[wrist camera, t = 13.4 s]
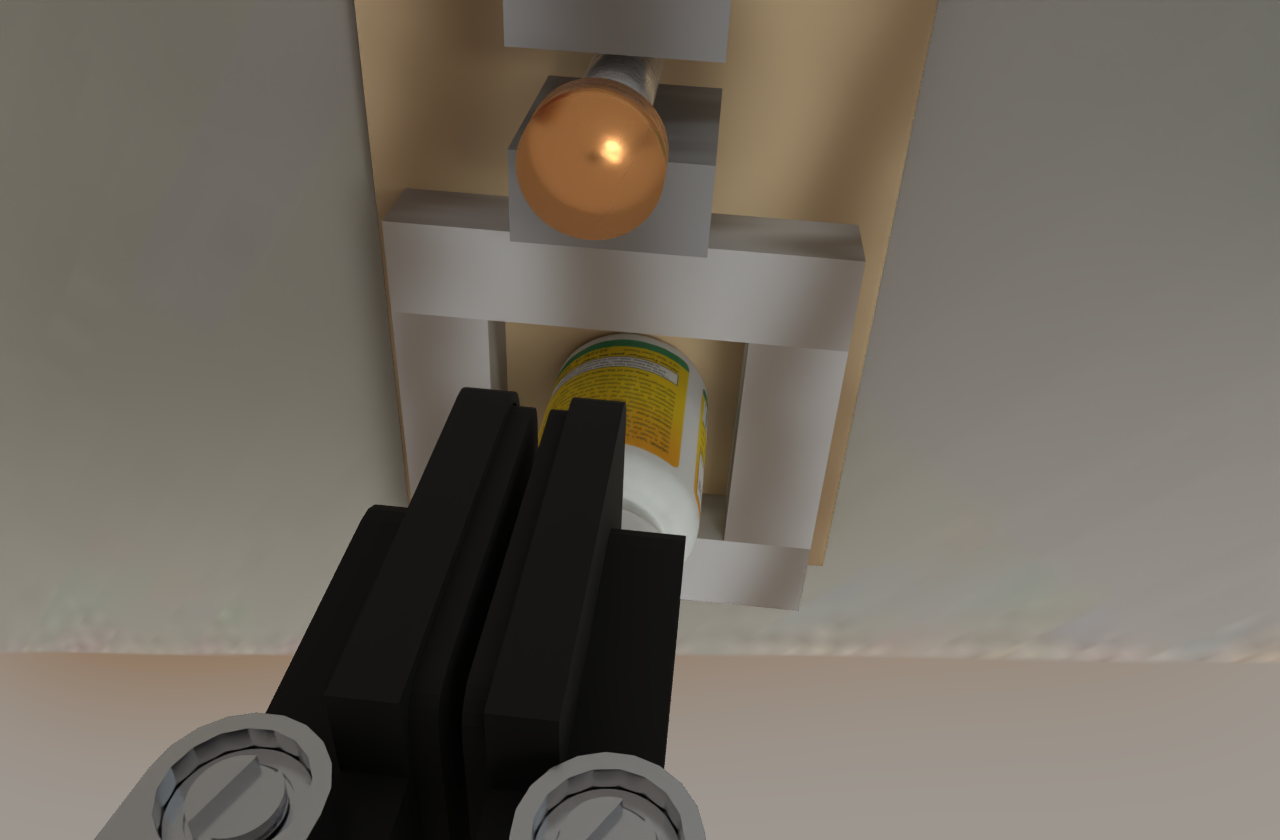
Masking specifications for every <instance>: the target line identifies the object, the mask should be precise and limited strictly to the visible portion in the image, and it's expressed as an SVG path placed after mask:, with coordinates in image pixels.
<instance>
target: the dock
mask: <svg viewBox="0 0 1280 840" xmlns="http://www.w3.org/2000/svg"><path fill="white" fill-rule="evenodd" d="M937 3H938V0H354V4H355V13H356V22H357V31H358V40H359V50H360V59H361V68H362V77H363V87H364V96H365V105H366V114H367V123H368V133H369V142H370V151H371V160H372V170H373V179H374V188H375V197H376V206H377V216H378V225H379V234H380V243H381V253H382V262H383V271H384V280H385V290H386V299H387V308H388V317H389V326H390V336H391V345H392V354H393V363H394V373H395V382H396V391H397V400H398V409H399V419H400V428H401V437H402V446H403V456H404V465H405V474H406V483H407V492H408V502H409V504H410V502H411V499H412V497H413V495H414V493H415V490H416V488H417V486H418V484H419V481H420V479H421V477H422V475H423V472H424V470H425V468H426V466H427V463H428V461H429V459H430V457H431V454H432V452H433V450H434V448H435V445H436V443H437V441H438V439H439V436H440V434H441V432H442V430H443V427H444V425H445V423H446V421H447V418H448V416H449V414H450V412H451V409H452V407H453V405H454V403H455V400H456V398H457V396H458V394H459V392H460V390H461V389H462V388H463V387H472V388H483V389H494V390H504V391H515V392H517V394H518V397H519V402H520V406H525V407H535V408H536V410H537V418H538V434H539V431H540V428H541V425H542V422H543V419H544V415H545V412H546V409H547V406H548V403H549V400H550V397H551V394H552V391H553V387H554V384H555V382H556V379H557V376H558V374H559V372H560V370H561V368H562V366H563V365H564V363H565V362H566V360H567V359H568V358H569V357H570V355H571V354H572V353H573V352H574V351H576V350H577V349H578V348H579V347H581V346H583V345H585V344H586V343H588V342H590V341H592V340H595V339H597V338H600V337H603V336H607V335H613V334H621V333H626V334H637V335H643V336H647V337H650V338H654V339H656V340H659V341H662V342H664V343H666V344H668V345H670V346H672V347H674V348H676V349H678V350H679V351H680V352H682V353H683V354H684V355H685V356H686V357H687V358H688V359H689V360H690V361H691V362H692V363H693V364H694V365H695V367H696V368H697V370H698V371H699V373H700V375H701V377H702V379H703V381H704V384H705V387H706V390H707V395H708V426H707V440H706V450H705V462H704V477H703V488H702V500H701V512H700V522H699V530H698V535H697V539H696V542H695V545H694V547H693V550H692V551H691V553H690V555H689V557H688V558H687V560H686V561H685V562H684V565H683V576H682V587H681V597H680V599H686V600H696V601H706V602H716V603H726V604H736V605H746V606H756V607H766V608H776V609H786V610H796V611H799V607H800V601H801V596H802V591H803V586H804V581H805V575H806V570H807V565H816V566H823V562H824V557H825V552H826V547H827V542H828V538H829V533H830V528H831V523H832V518H833V513H834V508H835V503H836V498H837V493H838V489H839V484H840V479H841V474H842V469H843V464H844V459H845V454H846V449H847V444H848V440H849V435H850V430H851V425H852V420H853V415H854V410H855V405H856V400H857V395H858V391H859V386H860V381H861V376H862V371H863V366H864V361H865V356H866V351H867V346H868V342H869V337H870V332H871V327H872V322H873V317H874V312H875V307H876V302H877V297H878V293H879V288H880V283H881V278H882V273H883V268H884V263H885V258H886V253H887V248H888V244H889V239H890V234H891V229H892V224H893V219H894V214H895V209H896V204H897V199H898V195H899V190H900V185H901V180H902V175H903V170H904V165H905V160H906V155H907V150H908V146H909V141H910V136H911V131H912V126H913V121H914V116H915V111H916V106H917V101H918V97H919V92H920V87H921V82H922V77H923V72H924V67H925V62H926V57H927V52H928V48H929V43H930V38H931V33H932V28H933V23H934V18H935V13H936V8H937ZM594 53H599V54H613V55H626V56H640V57H653V58H665V62H664V66H663V69H662V73H661V77H660V81H659V85H658V89H657V93H656V97H655V101H654V105H653V107H654V108H655V110H656V111H657V113H658V114H659V116H660V118H661V120H662V122H663V124H664V127H665V130H666V133H667V137H668V144H669V158H668V165H667V171H666V176H665V181H664V186H663V190H662V194H661V197H660V199H659V201H658V203H657V205H656V207H655V208H654V210H653V212H652V213H651V214H650V215H649V217H648V218H647V219H646V220H645V221H644V222H643V223H642V224H640V225H639V226H638V227H636V228H635V229H633V230H632V231H630V232H628V233H626V234H624V235H621V236H618V237H615V238H611V239H606V240H585V239H578V238H575V237H571V236H568V235H566V234H563V233H561V232H559V231H557V230H555V229H553V228H552V227H550V226H549V225H548V224H546V223H545V222H544V221H543V220H542V219H540V218H539V217H538V216H537V215H536V213H535V212H534V211H533V210H532V209H531V207H530V206H529V204H528V203H527V202H526V200H525V198H524V196H523V194H522V192H521V189H520V186H519V183H518V179H517V174H516V154H517V148H518V145H519V142H520V139H521V136H522V134H523V132H524V130H525V128H526V126H527V125H528V123H529V121H530V119H531V117H532V115H533V114H534V112H535V110H536V108H537V107H538V106H539V104H540V103H541V101H542V100H543V99H544V98H545V97H546V96H547V95H548V94H549V93H551V92H552V91H553V90H554V89H556V88H558V87H559V86H561V85H563V84H565V83H568V82H570V81H573V80H577V79H582V78H583V76H584V74H585V72H586V70H587V68H588V65H589V63H590V61H591V59H592V57H593V55H594Z"/></svg>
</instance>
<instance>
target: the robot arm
mask: <svg viewBox="0 0 1280 840" xmlns="http://www.w3.org/2000/svg"><path fill="white" fill-rule="evenodd" d="M625 434H626V402H622V401H611V400H601V399H590V398H579V397H573V398H572V400H571V403H570V406H569V409H568V410H557V409H551V410H550V412H549V415H548V418H547V421H546V425H545V428H544V431H543V434H542V438H541V441H540V444H539V447H538V418H537V410H536V408H535V407H525V406H520V402H519V397H518V394H517V392H515V391H504V390H494V389H483V388H472V387H463V388H462V389H461V390H460V392H459V394H458V396H457V398H456V400H455V403H454V405H453V407H452V409H451V412H450V414H449V416H448V418H447V421H446V423H445V425H444V427H443V430H442V432H441V434H440V436H439V439H438V441H437V443H436V445H435V448H434V450H433V452H432V454H431V457H430V459H429V461H428V463H427V466H426V468H425V470H424V472H423V475H422V477H421V479H420V481H419V484H418V486H417V488H416V490H415V493H414V495H413V497H412V499H411V502H410V504H409V506H408V508H405V507H395V506H385V505H373V506H372V507H370V508H369V509H368V510H367V512H366V513H365V515H364V516H363V518H362V520H361V522H360V524H359V526H358V528H357V530H356V532H355V534H354V536H353V538H352V540H351V542H350V544H349V546H348V548H347V550H346V552H345V554H344V556H343V558H342V560H341V562H340V564H339V566H338V568H337V570H336V572H335V574H334V576H333V578H332V580H331V582H330V584H329V586H328V588H327V590H326V592H325V594H324V596H323V598H322V600H321V602H320V604H319V606H318V608H317V610H316V612H315V614H314V617H313V619H312V621H311V623H310V625H309V627H308V629H307V631H306V633H305V635H304V637H303V639H302V641H301V643H300V645H299V647H298V649H297V651H296V653H295V655H294V657H293V659H292V661H291V663H290V665H289V667H288V669H287V671H286V673H285V675H284V677H283V679H282V681H281V683H280V685H279V687H278V689H277V691H276V693H275V695H274V697H273V699H272V701H271V704H270V705H269V708H268V710H267V711H266V714H265V713H251V714H244V715H237V716H230V717H226V718H223V719H220V720H218V721H215V722H212V723H210V724H207V725H204V726H202V727H199V728H197V729H196V730H194V731H192V732H191V733H189V734H188V735H186V736H185V737H183V738H182V739H180V740H178V741H177V742H175V743H174V744H173V745H171V746H170V747H169V748H168V749H167V750H166V751H165V752H164V753H163V754H162V755H161V756H160V757H159V758H158V759H157V760H156V761H155V762H154V763H153V764H152V765H151V767H149V769H148V770H147V771H146V772H145V774H144V775H143V777H142V778H141V779H140V780H139V782H138V783H137V784H136V785H135V787H134V788H133V789H132V791H131V792H130V793H129V795H128V796H127V797H126V799H125V800H124V801H123V802H122V804H121V805H120V806H119V808H118V809H117V810H116V812H115V813H114V814H113V815H112V817H111V818H110V819H109V821H108V822H107V823H106V825H105V826H104V827H103V829H102V830H101V831H100V832H99V834H98V835H97V836H96V838H95V839H94V840H706V837H705V831H704V827H703V824H702V820H701V817H700V813H699V810H698V807H697V805H696V803H695V802H694V800H693V799H692V798H691V796H690V795H689V793H688V792H687V790H686V789H685V787H684V786H683V784H682V783H681V782H680V781H678V780H677V779H676V778H674V777H673V776H672V775H671V774H669V773H668V772H667V771H666V770H664V765H665V754H666V744H667V733H668V723H669V713H670V702H671V692H672V681H673V671H674V660H675V650H676V640H677V629H678V619H679V608H680V597H681V587H682V576H683V565H684V554H685V543H686V536H684V535H674V534H664V533H654V532H644V531H634V530H624V529H621V525H622V502H623V480H624V457H625Z"/></svg>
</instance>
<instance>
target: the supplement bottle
mask: <svg viewBox="0 0 1280 840" xmlns="http://www.w3.org/2000/svg"><path fill="white" fill-rule="evenodd" d="M573 397H579V398H590V399H601V400H611V401H622V402H626V434H625V457H624V480H623V502H622V525H621V529H624V530H634V531H644V532H654V533H664V534H674V535H684V536H686V543H685V554H684V562H685V561H686V560H687V558H688V557H689V555H690V553H691V551H692V550H693V547H694V545H695V542H696V539H697V535H698V530H699V522H700V512H701V500H702V488H703V477H704V462H705V450H706V440H707V426H708V395H707V390H706V387H705V384H704V381H703V379H702V377H701V375H700V373H699V371H698V370H697V368H696V367H695V365H694V364H693V363H692V362H691V361H690V360H689V359H688V358H687V357H686V356H685V355H684V354H683V353H682V352H680V351H679V350H678V349H676V348H674V347H672V346H670V345H668V344H666V343H664V342H662V341H659V340H656V339H654V338H650V337H647V336H643V335H637V334H626V333H621V334H613V335H607V336H603V337H600V338H597V339H595V340H592V341H590V342H588V343H586V344H585V345H583V346H581V347H579V348H578V349H577V350H576V351H574V352H573V353H572V354H571V355H570V357H569V358H568V359H567V360H566V362H565V363H564V365H563V366H562V368H561V370H560V372H559V374H558V376H557V379H556V382H555V384H554V387H553V391H552V394H551V397H550V400H549V403H548V406H547V409H546V412H545V415H544V419H543V422H542V425H541V428H540V431H539V434H538V447H539V444H540V441H541V438H542V434H543V431H544V428H545V425H546V421H547V418H548V415H549V412H550V410H551V409H557V410H568V409H569V406H570V403H571V400H572V398H573Z"/></svg>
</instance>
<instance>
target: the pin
mask: <svg viewBox="0 0 1280 840" xmlns="http://www.w3.org/2000/svg"><path fill="white" fill-rule="evenodd" d="M664 62H665V58H653V57H640V56H626V55H613V54H599V53H594V55H593V57H592V59H591V61H590V63H589V65H588V68H587V70H586V72H585V74H584V76H583V78H582V79H577V80H573V81H570V82H568V83H565V84H563V85H561V86H559V87H558V88H556V89H554V90H553V91H552V92H551V93H549V94H548V95H547V96H546V97H545V98H544V99H543V100H542V101H541V103H540V104H539V106H538V107H537V108H536V110H535V112H534V114H533V115H532V117H531V119H530V121H529V123H528V125H527V126H526V128H525V130H524V132H523V134H522V136H521V139H520V142H519V145H518V148H517V154H516V174H517V179H518V183H519V186H520V189H521V192H522V194H523V196H524V198H525V200H526V202H527V203H528V204H529V206H530V207H531V209H532V210H533V211H534V212H535V213H536V215H537V216H538V217H539V218H540V219H542V220H543V221H544V222H545V223H546V224H548V225H549V226H550V227H552V228H553V229H555V230H557V231H559V232H561V233H563V234H566V235H568V236H571V237H575V238H578V239H585V240H606V239H611V238H615V237H618V236H621V235H624V234H626V233H628V232H630V231H632V230H633V229H635V228H636V227H638V226H639V225H640V224H642V223H643V222H644V221H645V220H646V219H647V218H648V217H649V215H650V214H651V213H652V212H653V210H654V208H655V207H656V205H657V203H658V201H659V199H660V197H661V194H662V190H663V186H664V181H665V176H666V171H667V165H668V158H669V144H668V137H667V133H666V130H665V127H664V124H663V122H662V120H661V118H660V116H659V114H658V113H657V111H656V110H655V108H654V107H653V105H654V101H655V97H656V93H657V89H658V85H659V81H660V77H661V73H662V69H663V66H664Z"/></svg>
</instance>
